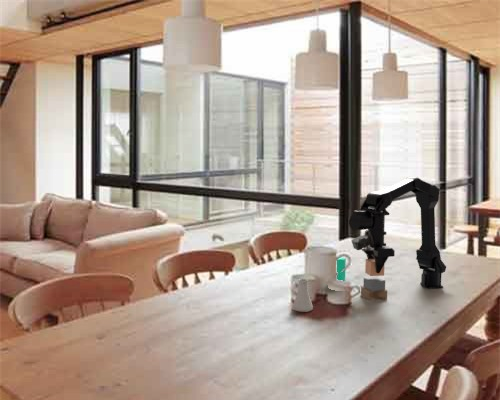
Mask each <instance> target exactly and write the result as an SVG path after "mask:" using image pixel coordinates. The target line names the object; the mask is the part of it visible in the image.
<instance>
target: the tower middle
mask: <svg viewBox="0 0 500 400" xmlns="http://www.w3.org/2000/svg"><path fill="white" fill-rule="evenodd" d="M362 286H363V287H364V288H366V289H368V290H370V291H379V290H385V289H386V279H384V278H381V277H379V276H368V277H363V284H362Z"/></svg>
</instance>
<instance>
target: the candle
mask: <svg viewBox="0 0 500 400" xmlns="http://www.w3.org/2000/svg"><path fill="white" fill-rule="evenodd" d="M340 257H341V258H339V259H338V260H337V272H338V275H337V279H338V280H343V281H345V282H346V261H347V259H346V257H343V256H340ZM344 268H345V270H344V271H343V272H341V271H342V270H343V269H344ZM340 272H341V273H340Z"/></svg>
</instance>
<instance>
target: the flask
mask: <svg viewBox="0 0 500 400" xmlns="http://www.w3.org/2000/svg"><path fill="white" fill-rule="evenodd" d="M308 280H309V279H306V278H299V279H298V280H297V282H298V291H297V294H296V296H295V299H294V302H293V304H292V308H291V310H293V311H296V312H301V313H302V312H303V313H305V312H306V313H308V312H311V311H313V309H314V306H313V303H312V300H311V298H310V294H309V290H308V282H309V281H308Z"/></svg>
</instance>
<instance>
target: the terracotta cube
mask: <svg viewBox="0 0 500 400" xmlns="http://www.w3.org/2000/svg"><path fill="white" fill-rule="evenodd" d="M364 273H365V274H367V275H369V277H379V276H380V277H382V276H385V265H384V266H383V268H382V269H381V271H380V273H376V266H375V259H368V258H365V269H364Z"/></svg>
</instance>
